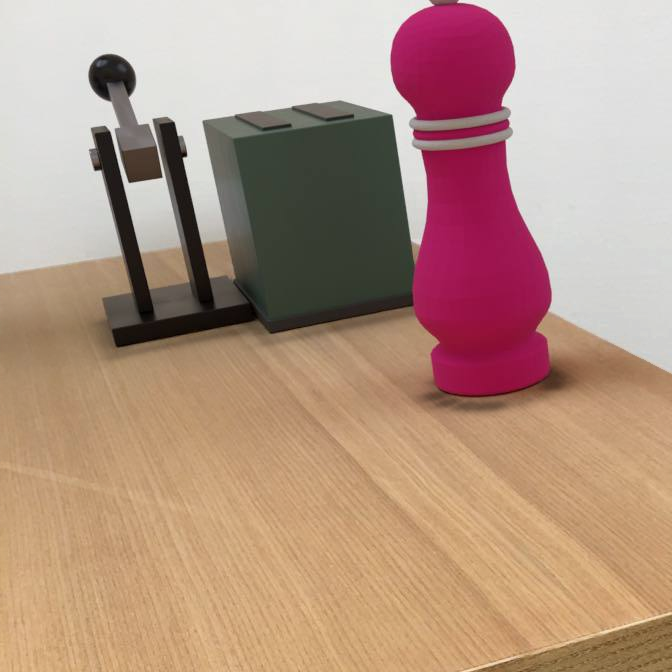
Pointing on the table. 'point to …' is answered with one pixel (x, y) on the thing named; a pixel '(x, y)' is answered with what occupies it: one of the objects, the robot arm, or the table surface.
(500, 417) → the table surface
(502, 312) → the pepper mill
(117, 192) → the bracket
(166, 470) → the table surface
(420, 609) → the table surface
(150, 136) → the lever
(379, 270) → the toaster
